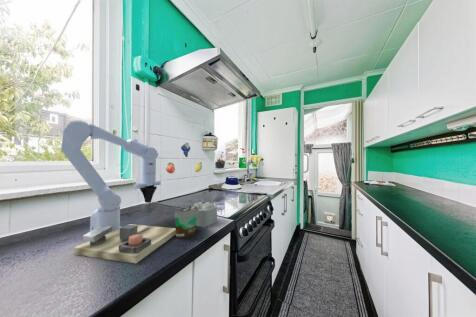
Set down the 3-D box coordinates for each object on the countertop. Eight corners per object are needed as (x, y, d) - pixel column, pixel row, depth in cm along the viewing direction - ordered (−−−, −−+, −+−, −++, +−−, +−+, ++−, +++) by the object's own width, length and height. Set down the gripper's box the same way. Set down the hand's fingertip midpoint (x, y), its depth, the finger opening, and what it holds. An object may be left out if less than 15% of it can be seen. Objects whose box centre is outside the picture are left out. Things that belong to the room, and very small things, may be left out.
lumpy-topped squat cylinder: (205, 228, 71) (205, 207, 71) (183, 222, 77) (184, 204, 77) (219, 220, 80) (219, 202, 80) (199, 216, 86) (199, 199, 87)
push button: (125, 248, 49) (125, 238, 49) (135, 243, 52) (135, 233, 52) (135, 250, 48) (136, 239, 48) (145, 244, 52) (145, 234, 52)
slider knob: (119, 239, 55) (119, 227, 55) (127, 235, 58) (127, 224, 58) (129, 240, 54) (130, 228, 54) (137, 236, 57) (137, 225, 57)
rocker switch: (83, 240, 51) (82, 235, 50) (102, 229, 56) (102, 225, 56) (94, 242, 50) (93, 237, 50) (112, 230, 56) (112, 226, 55)
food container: (189, 241, 58) (189, 213, 59) (173, 240, 59) (174, 212, 60) (203, 228, 70) (203, 204, 71) (190, 227, 72) (190, 204, 72)
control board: (73, 254, 50) (73, 242, 50) (129, 228, 69) (129, 220, 69) (135, 263, 45) (136, 250, 45) (176, 233, 65) (177, 224, 65)
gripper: (144, 174, 70) (143, 206, 69) (166, 172, 84) (165, 199, 83) (130, 173, 71) (129, 205, 71) (153, 172, 85) (153, 198, 85)
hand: (148, 202), depth 77 cm, fingers closed
